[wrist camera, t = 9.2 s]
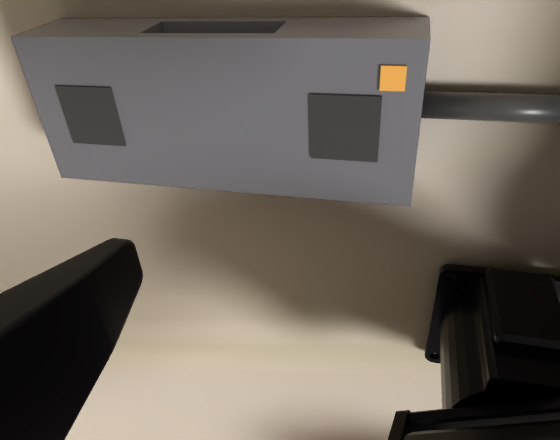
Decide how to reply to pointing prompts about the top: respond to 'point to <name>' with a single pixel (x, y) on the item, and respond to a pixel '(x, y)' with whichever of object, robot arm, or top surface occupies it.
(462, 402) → the robot arm
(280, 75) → the power strip
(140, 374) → the top surface
